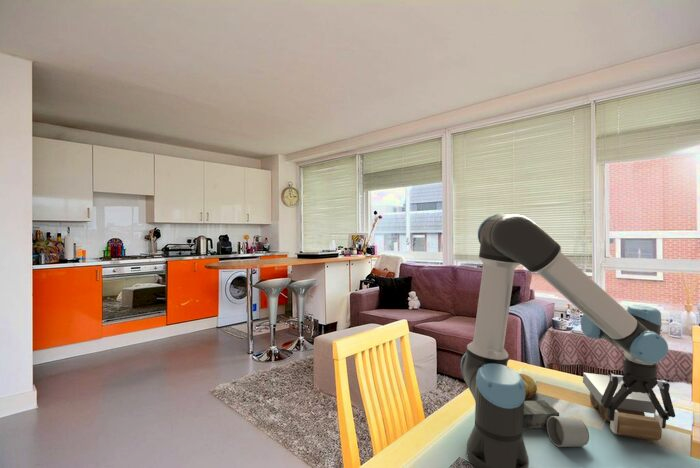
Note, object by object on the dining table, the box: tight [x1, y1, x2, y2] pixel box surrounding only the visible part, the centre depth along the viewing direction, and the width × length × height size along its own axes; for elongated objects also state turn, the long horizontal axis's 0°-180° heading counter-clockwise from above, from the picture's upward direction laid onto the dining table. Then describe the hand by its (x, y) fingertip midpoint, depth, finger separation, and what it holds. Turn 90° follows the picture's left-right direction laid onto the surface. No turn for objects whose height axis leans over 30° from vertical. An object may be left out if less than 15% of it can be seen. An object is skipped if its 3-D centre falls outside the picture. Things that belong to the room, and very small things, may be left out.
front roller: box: [598, 404, 646, 423], centre depth 112 cm, size 6×10×6 cm, turn 74°
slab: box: [582, 372, 657, 415], centre depth 116 cm, size 14×16×4 cm
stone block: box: [523, 399, 560, 430], centre depth 112 cm, size 9×14×5 cm, turn 92°
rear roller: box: [589, 391, 599, 409], centre depth 120 cm, size 6×10×6 cm, turn 74°
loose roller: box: [616, 412, 663, 442], centre depth 104 cm, size 6×10×6 cm, turn 74°
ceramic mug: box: [546, 415, 590, 448], centre depth 102 cm, size 11×8×8 cm
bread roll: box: [519, 373, 538, 400], centre depth 127 cm, size 13×10×8 cm
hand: (634, 434), depth 104 cm, fingers closed on loose roller, 10 cm apart
